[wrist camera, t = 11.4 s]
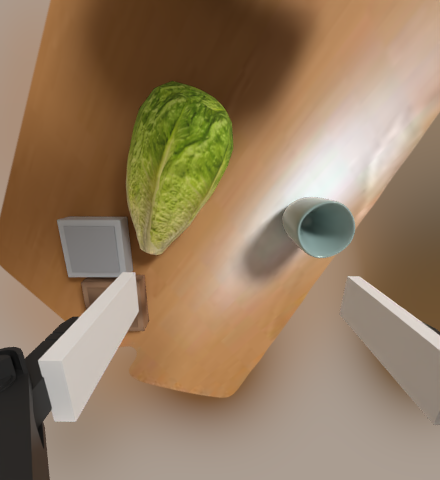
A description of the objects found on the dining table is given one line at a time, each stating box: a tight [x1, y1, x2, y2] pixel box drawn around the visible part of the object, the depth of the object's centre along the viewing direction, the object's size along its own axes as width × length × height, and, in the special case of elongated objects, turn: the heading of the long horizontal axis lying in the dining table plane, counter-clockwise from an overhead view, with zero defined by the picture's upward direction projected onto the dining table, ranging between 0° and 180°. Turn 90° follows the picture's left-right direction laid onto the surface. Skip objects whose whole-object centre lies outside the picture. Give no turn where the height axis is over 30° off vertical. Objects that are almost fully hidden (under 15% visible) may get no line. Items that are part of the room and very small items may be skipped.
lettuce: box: [126, 81, 233, 255], centre depth 32 cm, size 12×24×13 cm
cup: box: [282, 197, 355, 258], centre depth 34 cm, size 8×8×10 cm
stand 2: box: [81, 275, 149, 331], centre depth 41 cm, size 10×10×3 cm
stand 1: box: [57, 217, 133, 277], centre depth 38 cm, size 10×10×3 cm
